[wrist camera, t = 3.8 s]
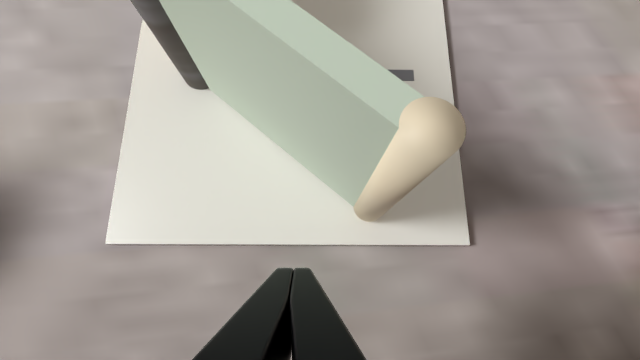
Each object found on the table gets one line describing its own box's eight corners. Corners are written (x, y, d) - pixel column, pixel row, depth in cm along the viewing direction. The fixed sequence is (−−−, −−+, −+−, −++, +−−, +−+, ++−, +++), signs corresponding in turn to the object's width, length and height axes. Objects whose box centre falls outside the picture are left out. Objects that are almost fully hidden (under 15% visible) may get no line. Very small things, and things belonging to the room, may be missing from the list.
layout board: (466, 245, 20) (470, 244, 20) (110, 244, 20) (104, 243, 20) (429, -92, 27) (431, -100, 27) (165, -96, 27) (162, -104, 27)
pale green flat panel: (371, 228, 20) (440, 172, 9) (206, 92, 22) (99, -86, 11) (390, 204, 20) (479, 123, 9) (226, 74, 22) (142, -117, 11)
